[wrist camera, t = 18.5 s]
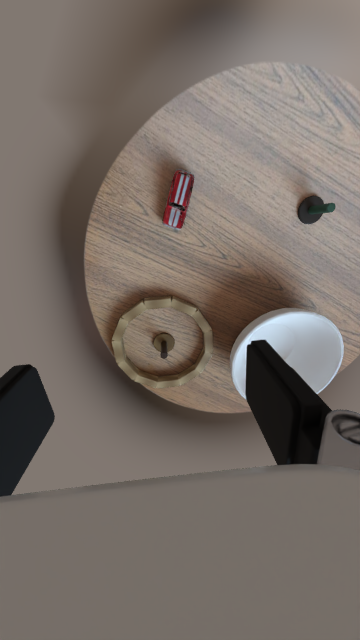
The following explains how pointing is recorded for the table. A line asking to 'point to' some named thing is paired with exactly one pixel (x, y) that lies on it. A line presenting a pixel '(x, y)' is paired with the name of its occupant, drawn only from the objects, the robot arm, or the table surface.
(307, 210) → the green peg
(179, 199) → the toy car
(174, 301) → the ring
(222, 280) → the table surface
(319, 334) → the bowl
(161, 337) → the walnut peg
